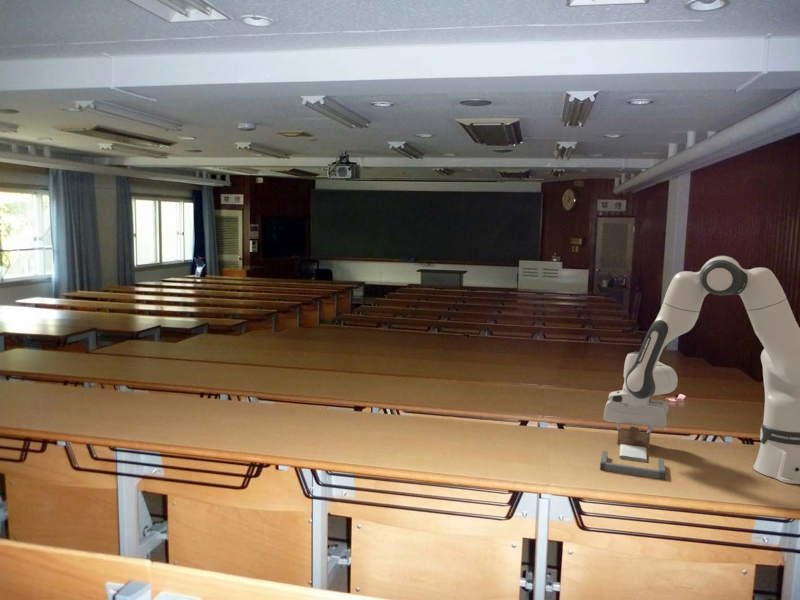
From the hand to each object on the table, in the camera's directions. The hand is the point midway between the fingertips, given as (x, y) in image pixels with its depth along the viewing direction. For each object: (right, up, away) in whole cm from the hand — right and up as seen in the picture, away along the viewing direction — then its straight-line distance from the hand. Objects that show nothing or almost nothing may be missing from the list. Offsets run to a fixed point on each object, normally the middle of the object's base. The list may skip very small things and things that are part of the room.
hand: (633, 436), depth 213 cm
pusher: (0, -2, -1) cm, 2 cm away
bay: (-10, -4, -25) cm, 27 cm away
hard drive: (-5, -4, -13) cm, 14 cm away
